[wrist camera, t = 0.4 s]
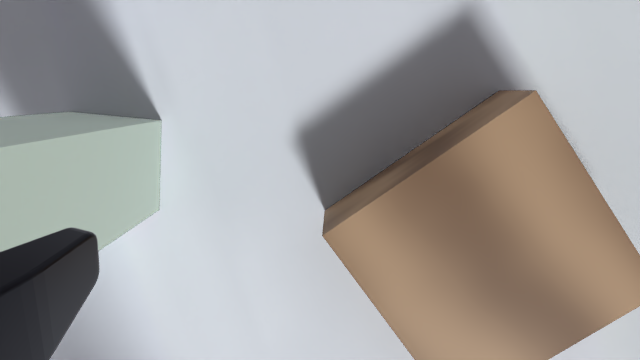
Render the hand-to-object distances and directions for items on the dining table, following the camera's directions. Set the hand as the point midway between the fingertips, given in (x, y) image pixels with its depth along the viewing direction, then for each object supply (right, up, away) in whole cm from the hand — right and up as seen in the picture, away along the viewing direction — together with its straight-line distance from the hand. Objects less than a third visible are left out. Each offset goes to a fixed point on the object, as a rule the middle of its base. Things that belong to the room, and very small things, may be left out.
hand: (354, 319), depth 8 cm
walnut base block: (+7, 0, +15) cm, 17 cm away
